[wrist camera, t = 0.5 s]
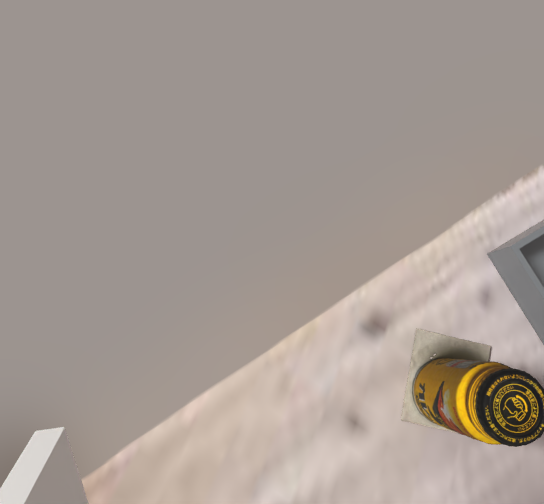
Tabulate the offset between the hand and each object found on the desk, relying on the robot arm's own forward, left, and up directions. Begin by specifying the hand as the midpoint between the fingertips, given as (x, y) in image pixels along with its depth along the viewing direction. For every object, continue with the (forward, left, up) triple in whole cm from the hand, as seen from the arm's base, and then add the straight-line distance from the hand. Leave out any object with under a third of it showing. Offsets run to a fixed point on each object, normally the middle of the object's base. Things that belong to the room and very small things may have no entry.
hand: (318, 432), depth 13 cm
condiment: (-10, -15, -32) cm, 37 cm away
